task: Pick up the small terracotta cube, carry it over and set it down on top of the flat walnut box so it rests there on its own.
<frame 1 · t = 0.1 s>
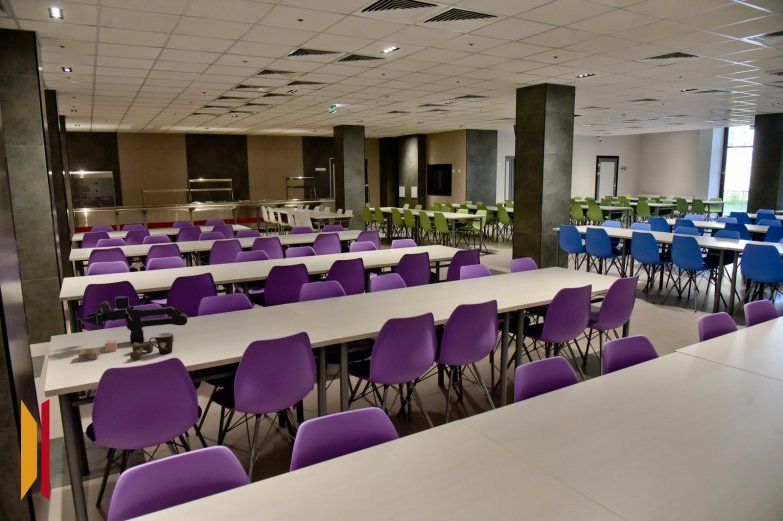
hand: (85, 317, 291), 17 cm above the table, tool horizontal, fingers open, 9 cm apart
walnut box: (89, 358, 275), on the table
terracotta cube: (111, 350, 287), on the table
coffee mug: (163, 352, 283), on the table
kendama: (141, 355, 281), on the table
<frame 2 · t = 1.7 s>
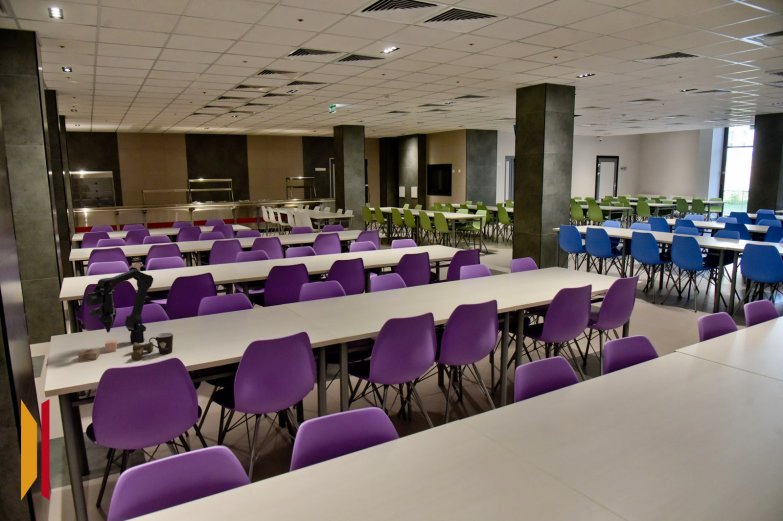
hand: (109, 330, 286), 11 cm above the table, tool pointing down, fingers open, 9 cm apart
nothing on the table moved.
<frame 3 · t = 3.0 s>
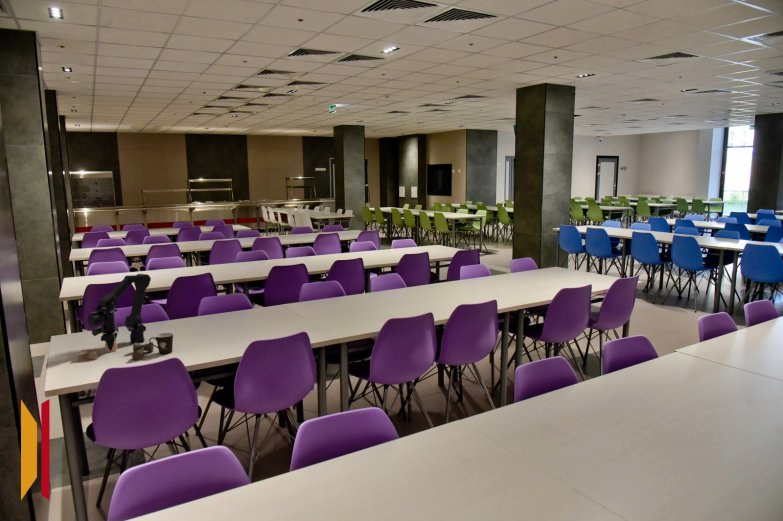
hand: (111, 348, 287), 1 cm above the table, tool pointing down, fingers closed on terracotta cube, 5 cm apart
terracotta cube: (111, 350, 287), on the table, touching gripper
everything else where it was.
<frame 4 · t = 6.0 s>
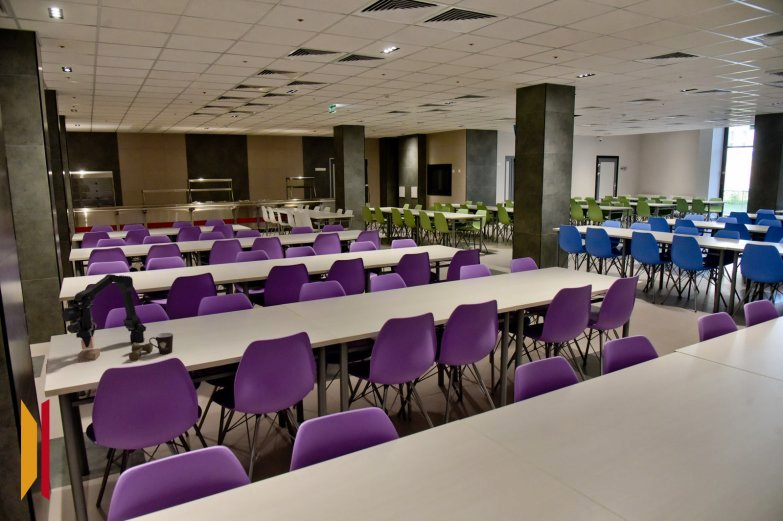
hand: (88, 345, 274), 7 cm above the table, tool pointing down, fingers closed on terracotta cube, 5 cm apart
terracotta cube: (88, 347, 274), point 6 cm above the table, touching gripper
when the fingers open (6 cm above the table, at t = 6.8 s): terracotta cube drops 2 cm, point 4 cm above the table.
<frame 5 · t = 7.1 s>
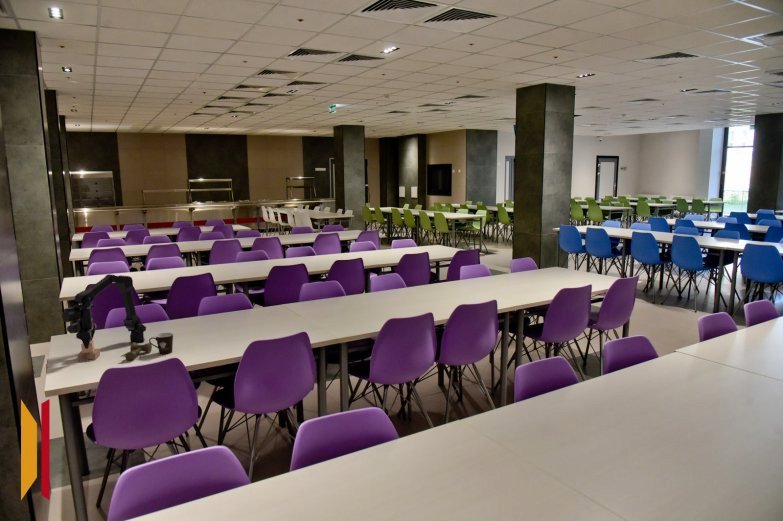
hand: (88, 346, 274), 6 cm above the table, tool pointing down, fingers open, 8 cm apart
terracotta cube: (88, 351, 274), point 4 cm above the table
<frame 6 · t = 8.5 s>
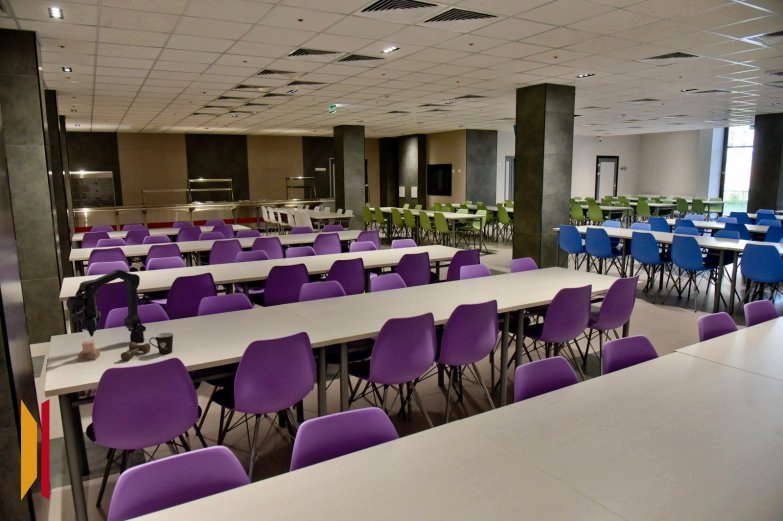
hand: (93, 333, 279), 11 cm above the table, tool pointing down, fingers open, 9 cm apart
walnut box: (89, 358, 275), on the table, touching terracotta cube
terracotta cube: (89, 351, 275), point 4 cm above the table, touching walnut box
kendama: (136, 355, 280), on the table
everything else where it was.
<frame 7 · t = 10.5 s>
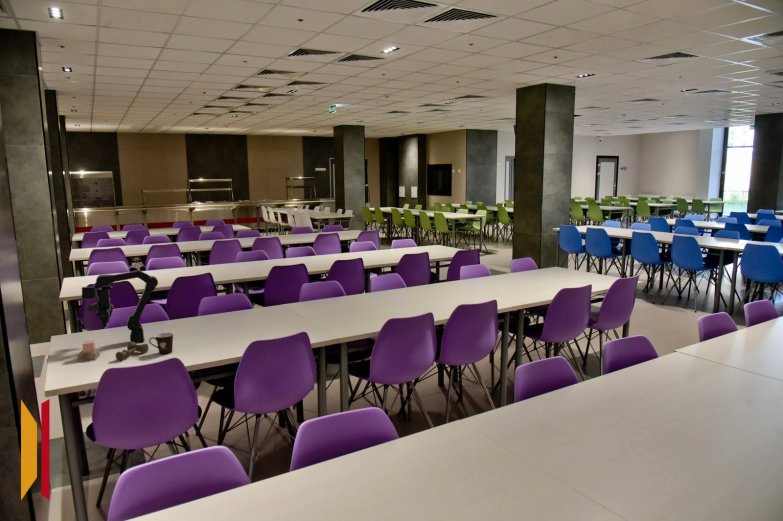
hand: (106, 324, 294), 12 cm above the table, tool pointing down, fingers open, 9 cm apart
walnut box: (89, 359, 275), on the table
terracotta cube: (89, 351, 275), point 4 cm above the table
kendama: (133, 355, 280), on the table
everything else where it was.
at the end: terracotta cube 0.7 cm off-centre on the walnut box, point 4.0 cm above the walnut box's base; terracotta cube tilted 0°; terracotta cube touching walnut box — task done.
